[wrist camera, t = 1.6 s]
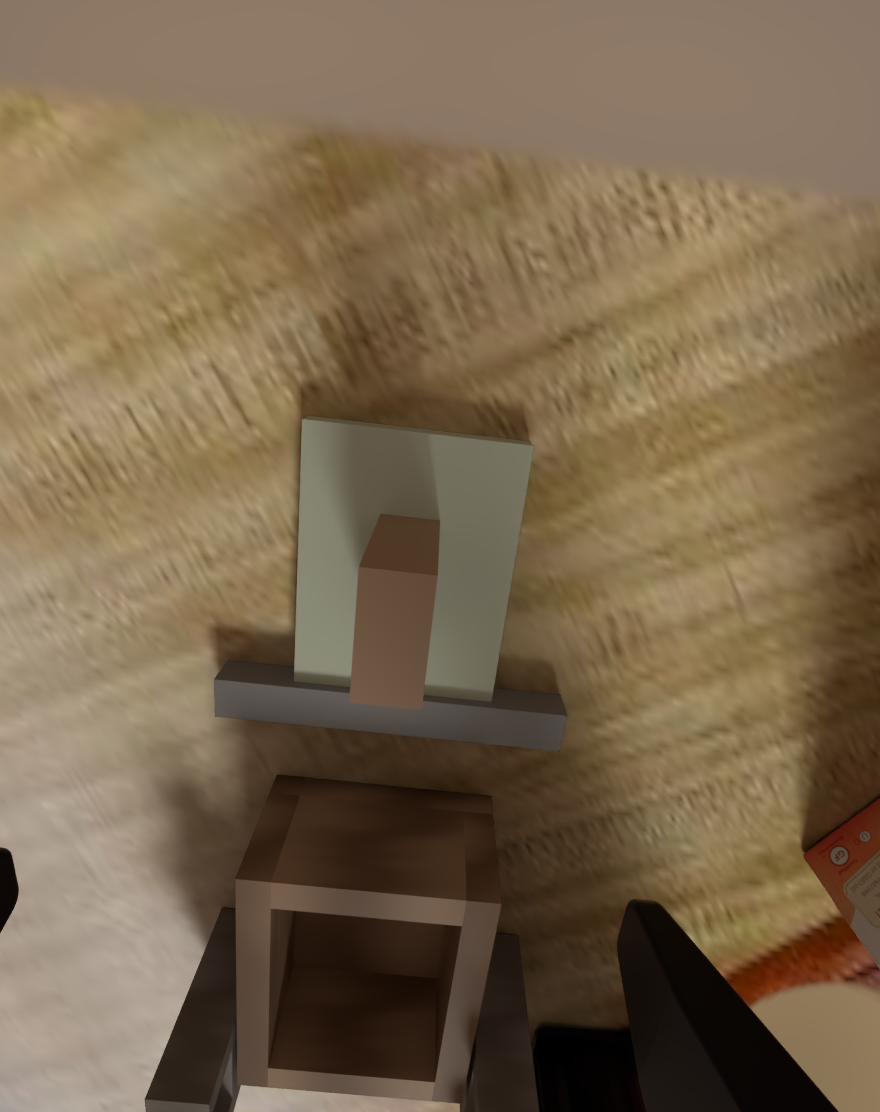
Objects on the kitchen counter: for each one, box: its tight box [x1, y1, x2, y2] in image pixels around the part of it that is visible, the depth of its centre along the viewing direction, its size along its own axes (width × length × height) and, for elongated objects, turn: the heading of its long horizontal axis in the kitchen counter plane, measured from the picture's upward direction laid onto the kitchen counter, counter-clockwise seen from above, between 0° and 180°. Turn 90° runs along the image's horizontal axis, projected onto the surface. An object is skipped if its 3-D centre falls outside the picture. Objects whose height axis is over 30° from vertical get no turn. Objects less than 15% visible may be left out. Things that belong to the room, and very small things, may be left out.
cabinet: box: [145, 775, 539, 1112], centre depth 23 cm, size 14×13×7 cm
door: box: [214, 416, 567, 751], centre depth 18 cm, size 13×11×6 cm
